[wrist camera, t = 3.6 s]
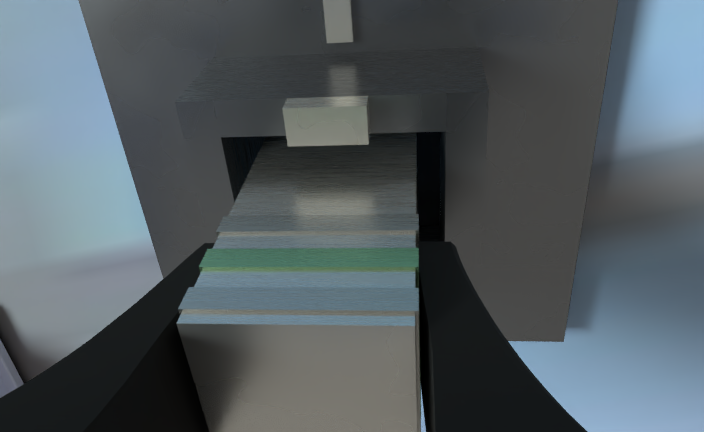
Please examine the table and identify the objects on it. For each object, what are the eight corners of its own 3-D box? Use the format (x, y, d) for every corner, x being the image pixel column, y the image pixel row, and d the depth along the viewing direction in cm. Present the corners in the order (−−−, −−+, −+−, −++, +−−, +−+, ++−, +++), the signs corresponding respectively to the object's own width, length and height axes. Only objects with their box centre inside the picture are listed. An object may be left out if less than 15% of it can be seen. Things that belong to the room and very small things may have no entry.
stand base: (189, 319, 20) (144, 417, 17) (75, -73, 14) (-34, -39, 11) (558, 323, 19) (588, 430, 16) (623, -111, 12) (697, -86, 9)
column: (289, 239, 16) (218, 470, 11) (271, 119, 15) (172, 320, 9) (420, 238, 16) (421, 478, 10) (418, 114, 14) (418, 323, 8)
